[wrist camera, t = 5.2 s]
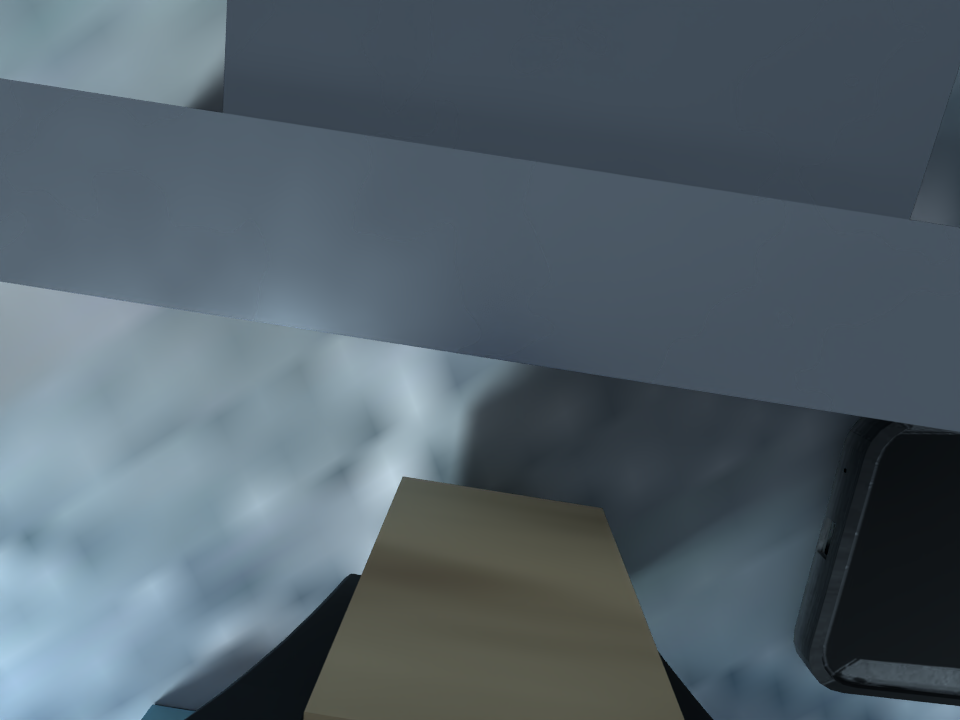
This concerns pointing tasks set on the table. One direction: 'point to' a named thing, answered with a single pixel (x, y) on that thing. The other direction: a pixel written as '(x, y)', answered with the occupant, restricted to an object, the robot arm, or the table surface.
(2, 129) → the vise
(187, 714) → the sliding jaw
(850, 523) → the phone
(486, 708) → the oak block
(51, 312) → the table surface
